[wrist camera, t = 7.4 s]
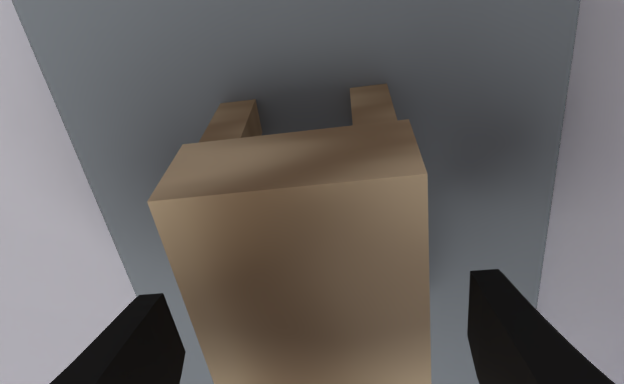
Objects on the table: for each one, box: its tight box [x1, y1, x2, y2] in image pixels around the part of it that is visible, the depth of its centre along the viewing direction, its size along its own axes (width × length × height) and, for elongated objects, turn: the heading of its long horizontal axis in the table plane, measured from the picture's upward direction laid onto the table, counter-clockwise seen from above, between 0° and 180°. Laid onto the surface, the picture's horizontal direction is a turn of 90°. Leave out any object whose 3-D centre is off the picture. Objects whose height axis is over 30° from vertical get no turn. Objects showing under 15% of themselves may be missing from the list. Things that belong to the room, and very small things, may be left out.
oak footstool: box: [147, 84, 431, 384], centre depth 13 cm, size 5×8×5 cm, turn 8°
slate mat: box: [12, 0, 580, 384], centre depth 16 cm, size 18×14×1 cm
